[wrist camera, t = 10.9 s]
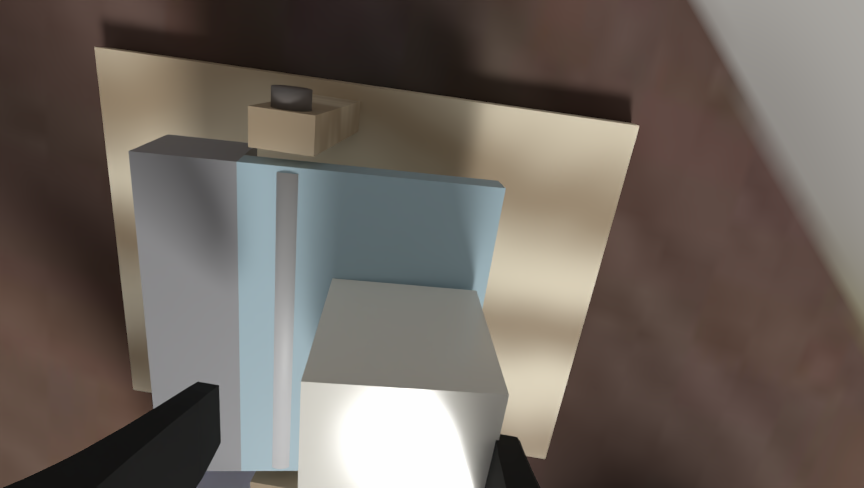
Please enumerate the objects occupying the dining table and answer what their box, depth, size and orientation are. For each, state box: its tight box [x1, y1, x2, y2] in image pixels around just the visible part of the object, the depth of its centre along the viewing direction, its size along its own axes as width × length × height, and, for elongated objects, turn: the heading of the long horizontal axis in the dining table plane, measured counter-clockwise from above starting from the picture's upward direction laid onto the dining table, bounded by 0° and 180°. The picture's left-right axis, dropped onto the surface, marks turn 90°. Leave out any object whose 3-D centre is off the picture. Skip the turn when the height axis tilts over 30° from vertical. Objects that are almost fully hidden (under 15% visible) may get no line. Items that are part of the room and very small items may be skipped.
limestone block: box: [298, 278, 509, 488], centre depth 15 cm, size 5×5×6 cm
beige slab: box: [94, 47, 639, 488], centre depth 20 cm, size 17×22×7 cm
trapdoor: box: [128, 134, 506, 471], centre depth 18 cm, size 12×12×3 cm
